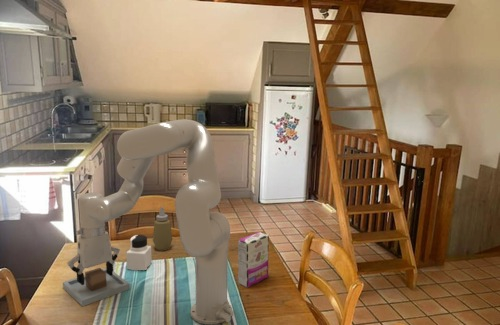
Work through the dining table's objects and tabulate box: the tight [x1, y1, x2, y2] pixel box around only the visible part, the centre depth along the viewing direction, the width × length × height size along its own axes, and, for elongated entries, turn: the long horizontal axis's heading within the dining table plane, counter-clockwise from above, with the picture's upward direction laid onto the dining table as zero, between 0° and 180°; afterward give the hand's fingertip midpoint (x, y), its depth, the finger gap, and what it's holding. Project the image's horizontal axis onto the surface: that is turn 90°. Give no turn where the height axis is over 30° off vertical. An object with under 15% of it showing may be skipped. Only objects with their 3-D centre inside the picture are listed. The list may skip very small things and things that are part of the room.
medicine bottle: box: [125, 234, 153, 271], centre depth 149 cm, size 7×7×12 cm
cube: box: [84, 267, 107, 291], centre depth 133 cm, size 5×5×5 cm
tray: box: [62, 268, 131, 307], centre depth 133 cm, size 16×16×2 cm
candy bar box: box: [237, 231, 270, 288], centre depth 140 cm, size 11×5×16 cm, turn 136°
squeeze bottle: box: [152, 206, 173, 251], centre depth 166 cm, size 8×8×18 cm
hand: (95, 278), depth 133 cm, fingers open, 9 cm apart
